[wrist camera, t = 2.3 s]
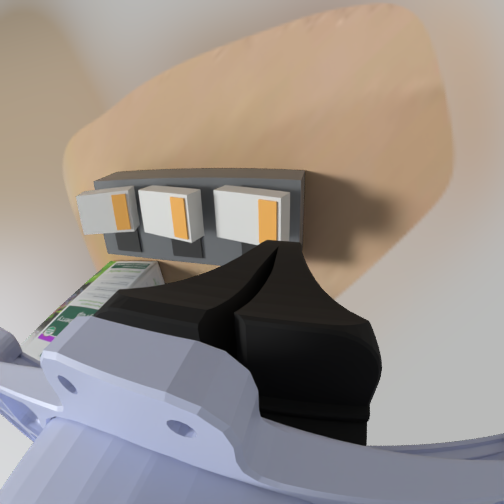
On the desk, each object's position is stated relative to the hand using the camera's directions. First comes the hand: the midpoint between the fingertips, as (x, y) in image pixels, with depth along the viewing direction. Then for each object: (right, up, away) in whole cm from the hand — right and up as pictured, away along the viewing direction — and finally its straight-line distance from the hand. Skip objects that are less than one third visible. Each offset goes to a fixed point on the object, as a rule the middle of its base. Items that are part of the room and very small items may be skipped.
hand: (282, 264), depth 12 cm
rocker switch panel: (-5, +4, +11) cm, 12 cm away
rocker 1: (-11, +3, +7) cm, 14 cm away
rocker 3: (-1, +3, +5) cm, 6 cm away
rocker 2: (-6, +3, +6) cm, 9 cm away
